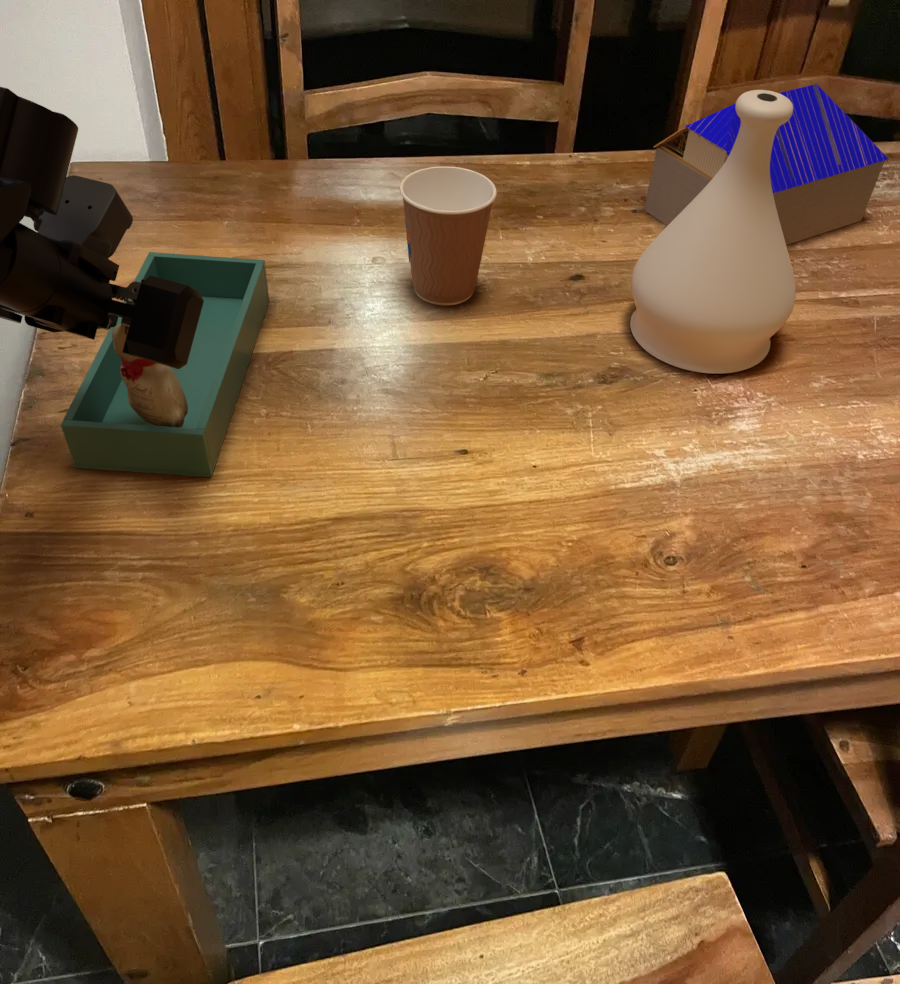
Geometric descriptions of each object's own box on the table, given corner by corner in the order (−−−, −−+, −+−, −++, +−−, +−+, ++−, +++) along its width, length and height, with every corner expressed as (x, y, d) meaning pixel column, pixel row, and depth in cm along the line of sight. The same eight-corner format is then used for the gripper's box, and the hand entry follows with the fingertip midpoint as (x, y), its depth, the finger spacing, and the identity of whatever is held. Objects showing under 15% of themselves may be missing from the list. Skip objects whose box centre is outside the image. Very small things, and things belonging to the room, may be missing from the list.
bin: (211, 477, 86) (202, 435, 82) (74, 468, 86) (60, 424, 82) (269, 300, 105) (264, 259, 101) (157, 293, 105) (149, 251, 101)
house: (723, 266, 114) (762, 135, 102) (640, 209, 123) (667, 81, 111) (864, 221, 123) (914, 95, 112) (777, 170, 132) (815, 48, 120)
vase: (766, 296, 110) (844, 68, 91) (789, 386, 99) (882, 146, 80) (619, 284, 111) (666, 53, 92) (625, 371, 99) (679, 129, 80)
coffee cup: (431, 257, 113) (434, 157, 104) (504, 284, 109) (514, 183, 100) (381, 294, 107) (380, 192, 98) (457, 325, 104) (463, 221, 94)
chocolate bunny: (184, 375, 89) (167, 280, 81) (190, 427, 84) (173, 331, 77) (123, 380, 88) (101, 284, 80) (126, 433, 83) (103, 336, 75)
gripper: (168, 187, 64) (262, 262, 80) (-55, 133, 68) (76, 214, 83) (126, 345, 65) (227, 389, 81) (-91, 283, 69) (45, 336, 84)
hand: (143, 328), depth 82 cm, fingers closed on chocolate bunny, 5 cm apart
